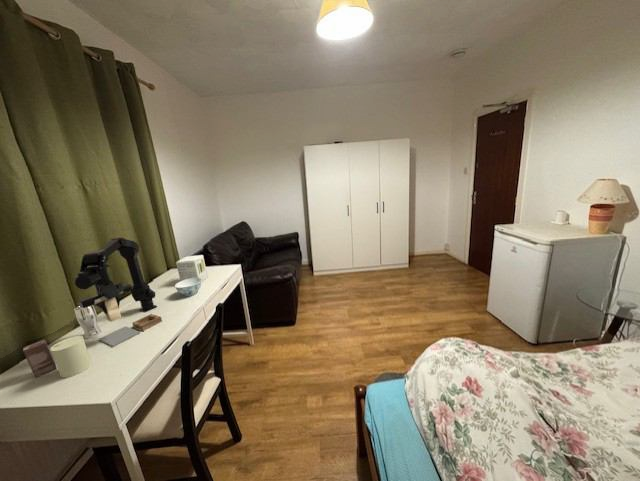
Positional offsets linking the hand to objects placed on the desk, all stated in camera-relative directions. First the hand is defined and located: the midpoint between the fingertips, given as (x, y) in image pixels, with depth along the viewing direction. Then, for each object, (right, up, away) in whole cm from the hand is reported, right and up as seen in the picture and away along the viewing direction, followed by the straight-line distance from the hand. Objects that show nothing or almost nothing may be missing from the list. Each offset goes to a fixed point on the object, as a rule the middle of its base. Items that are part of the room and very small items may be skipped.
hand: (112, 311), depth 116 cm
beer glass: (-15, -13, +7) cm, 21 cm away
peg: (0, -3, +1) cm, 4 cm away
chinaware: (+14, -1, +44) cm, 46 cm away
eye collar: (+9, -9, +12) cm, 17 cm away
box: (-12, -19, -17) cm, 28 cm away
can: (0, -18, -17) cm, 24 cm away
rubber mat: (+1, -12, +3) cm, 13 cm away
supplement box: (+6, +3, +65) cm, 66 cm away
